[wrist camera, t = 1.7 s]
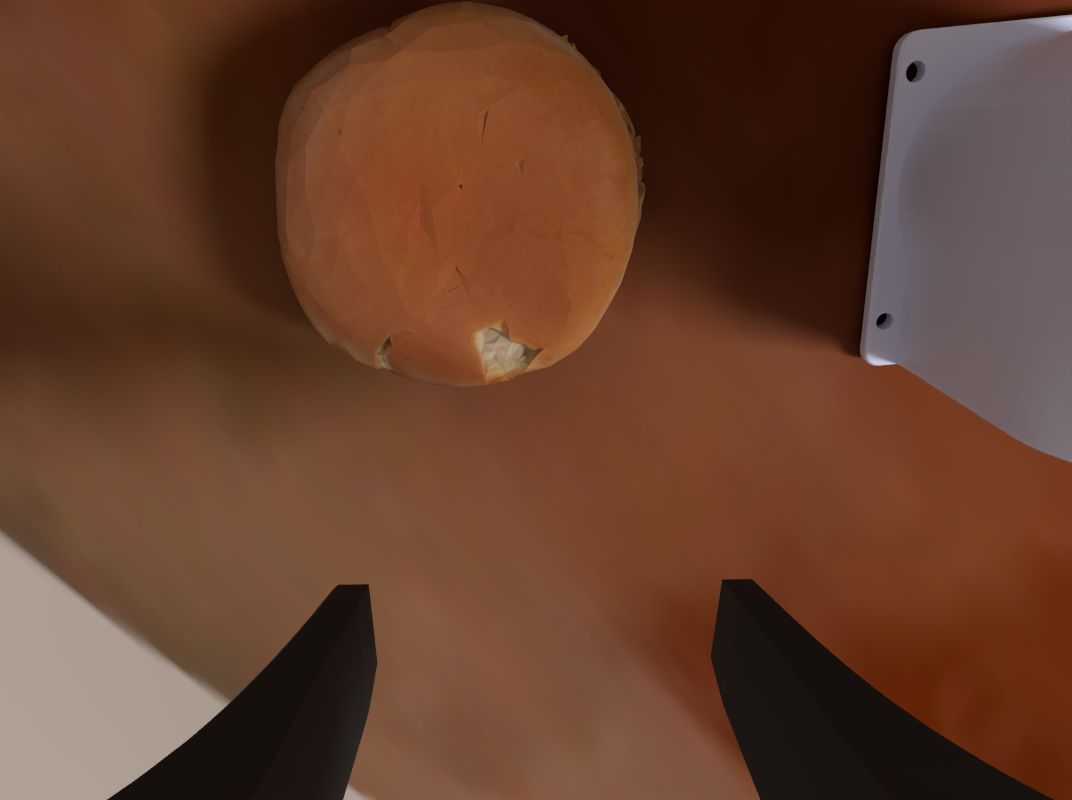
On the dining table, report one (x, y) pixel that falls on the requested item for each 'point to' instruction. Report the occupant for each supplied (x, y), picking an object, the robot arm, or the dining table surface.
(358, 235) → the burger
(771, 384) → the dining table surface
